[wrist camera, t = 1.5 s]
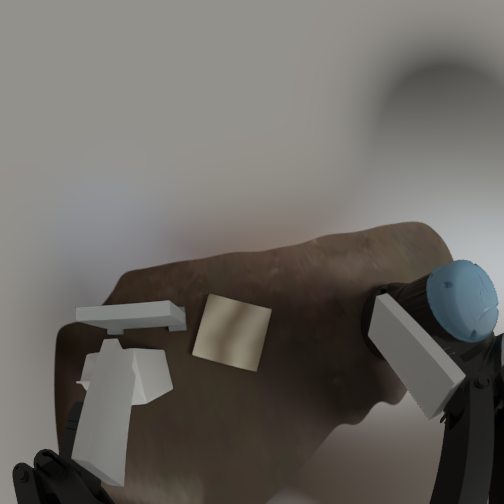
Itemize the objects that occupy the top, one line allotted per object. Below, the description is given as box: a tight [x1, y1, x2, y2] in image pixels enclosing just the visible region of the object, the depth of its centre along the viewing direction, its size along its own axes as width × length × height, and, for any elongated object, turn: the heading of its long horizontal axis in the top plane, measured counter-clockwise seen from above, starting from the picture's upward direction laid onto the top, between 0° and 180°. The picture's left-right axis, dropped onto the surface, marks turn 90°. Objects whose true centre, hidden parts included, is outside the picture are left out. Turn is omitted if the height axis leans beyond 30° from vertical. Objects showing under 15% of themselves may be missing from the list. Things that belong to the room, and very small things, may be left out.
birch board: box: [192, 293, 272, 372], centre depth 45 cm, size 11×11×1 cm
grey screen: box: [76, 300, 187, 335], centre depth 39 cm, size 15×4×12 cm, turn 98°
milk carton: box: [76, 348, 173, 405], centre depth 33 cm, size 7×7×19 cm
